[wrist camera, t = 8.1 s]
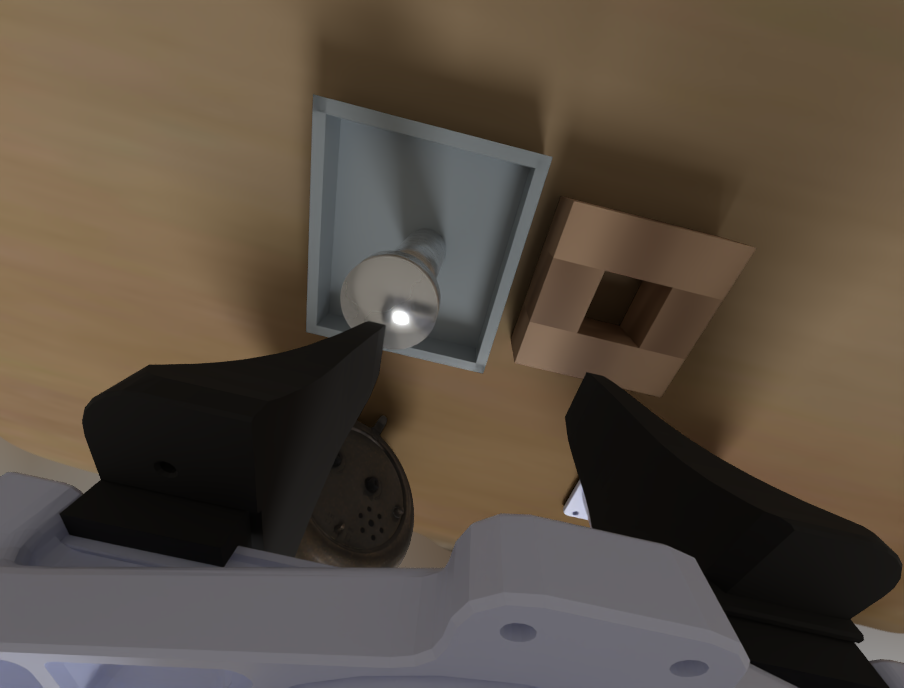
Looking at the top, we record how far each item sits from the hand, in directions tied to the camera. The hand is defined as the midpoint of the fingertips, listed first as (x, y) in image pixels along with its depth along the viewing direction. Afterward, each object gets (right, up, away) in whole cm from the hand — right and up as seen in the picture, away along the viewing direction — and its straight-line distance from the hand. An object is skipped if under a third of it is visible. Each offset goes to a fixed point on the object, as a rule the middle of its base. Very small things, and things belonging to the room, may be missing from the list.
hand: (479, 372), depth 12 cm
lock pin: (-3, +6, +8) cm, 10 cm away
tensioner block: (+8, +4, +9) cm, 13 cm away
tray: (-3, +7, +8) cm, 11 cm away
